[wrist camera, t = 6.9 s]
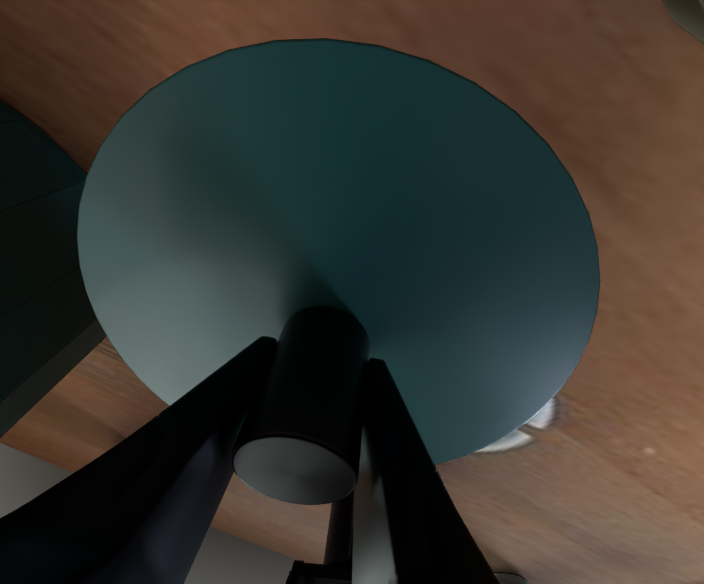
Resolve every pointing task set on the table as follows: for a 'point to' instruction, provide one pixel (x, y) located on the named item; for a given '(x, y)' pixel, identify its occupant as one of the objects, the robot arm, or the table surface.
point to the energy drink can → (510, 579)
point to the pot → (39, 268)
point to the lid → (339, 251)
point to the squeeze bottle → (688, 15)
